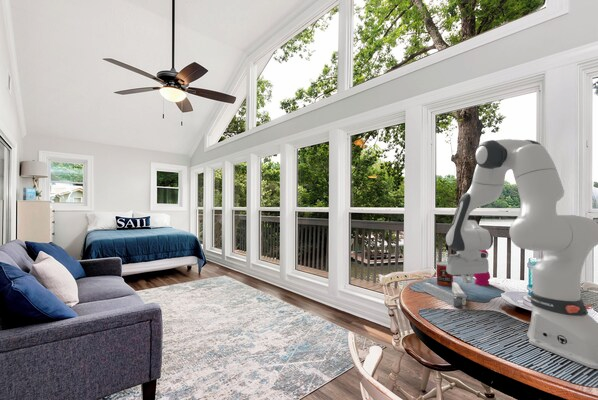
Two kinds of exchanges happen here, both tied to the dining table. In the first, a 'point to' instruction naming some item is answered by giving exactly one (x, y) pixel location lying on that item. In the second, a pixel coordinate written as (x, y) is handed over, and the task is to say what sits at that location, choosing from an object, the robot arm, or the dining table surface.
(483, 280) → the pepper mill
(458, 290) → the hinged handle
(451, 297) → the tongs fixed handle
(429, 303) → the dining table surface
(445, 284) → the canned food
